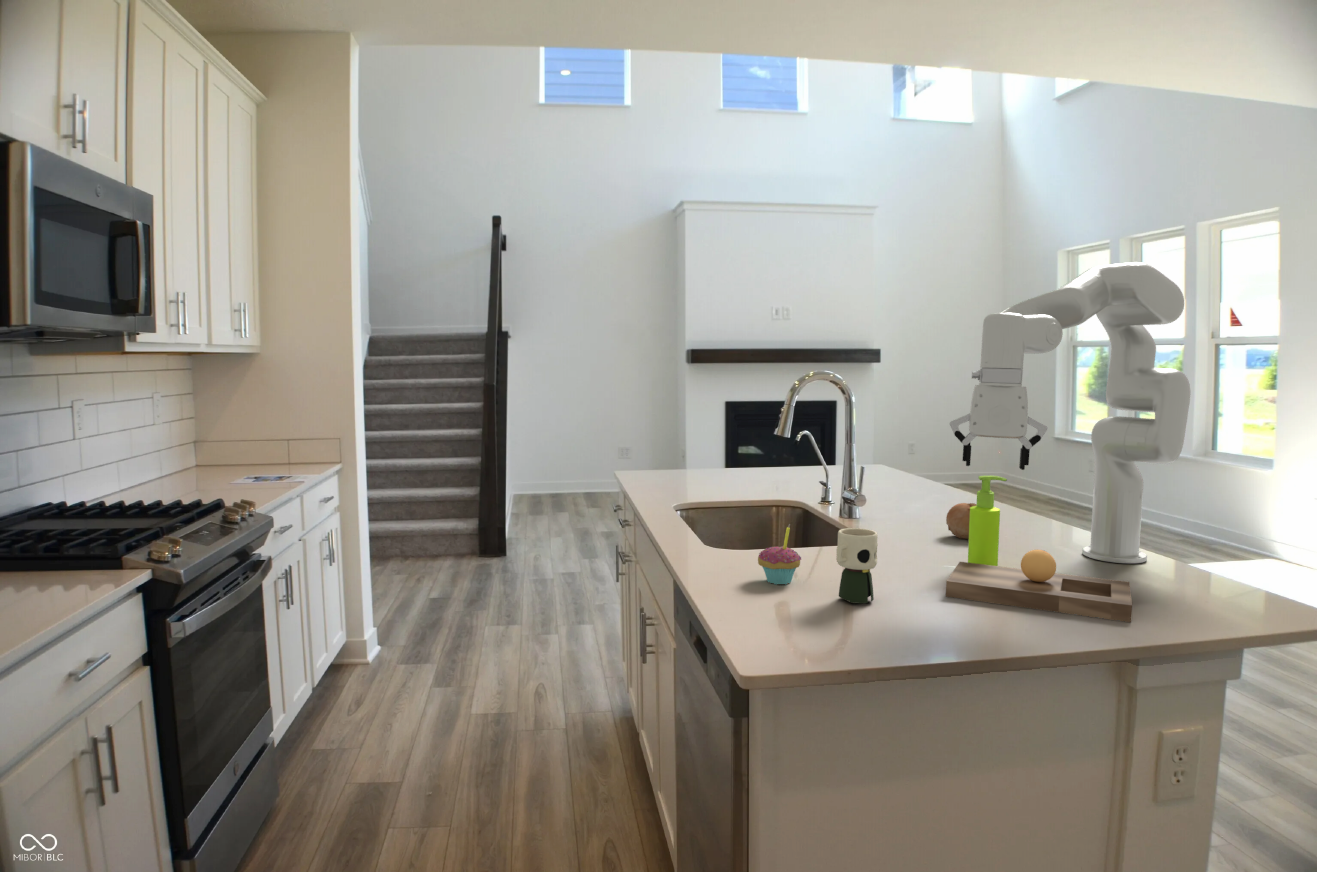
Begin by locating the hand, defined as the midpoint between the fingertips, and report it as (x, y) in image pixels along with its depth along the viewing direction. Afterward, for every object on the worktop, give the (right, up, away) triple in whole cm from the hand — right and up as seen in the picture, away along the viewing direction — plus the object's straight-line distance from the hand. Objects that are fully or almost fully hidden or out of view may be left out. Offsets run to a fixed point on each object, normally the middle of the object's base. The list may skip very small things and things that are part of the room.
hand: (994, 467), depth 152 cm
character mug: (-28, -25, -7) cm, 38 cm away
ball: (+6, -18, -5) cm, 20 cm away
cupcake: (-41, -23, +6) cm, 47 cm away
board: (+6, -24, -4) cm, 25 cm away
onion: (+12, -20, +44) cm, 50 cm away
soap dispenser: (+4, -23, +15) cm, 28 cm away
